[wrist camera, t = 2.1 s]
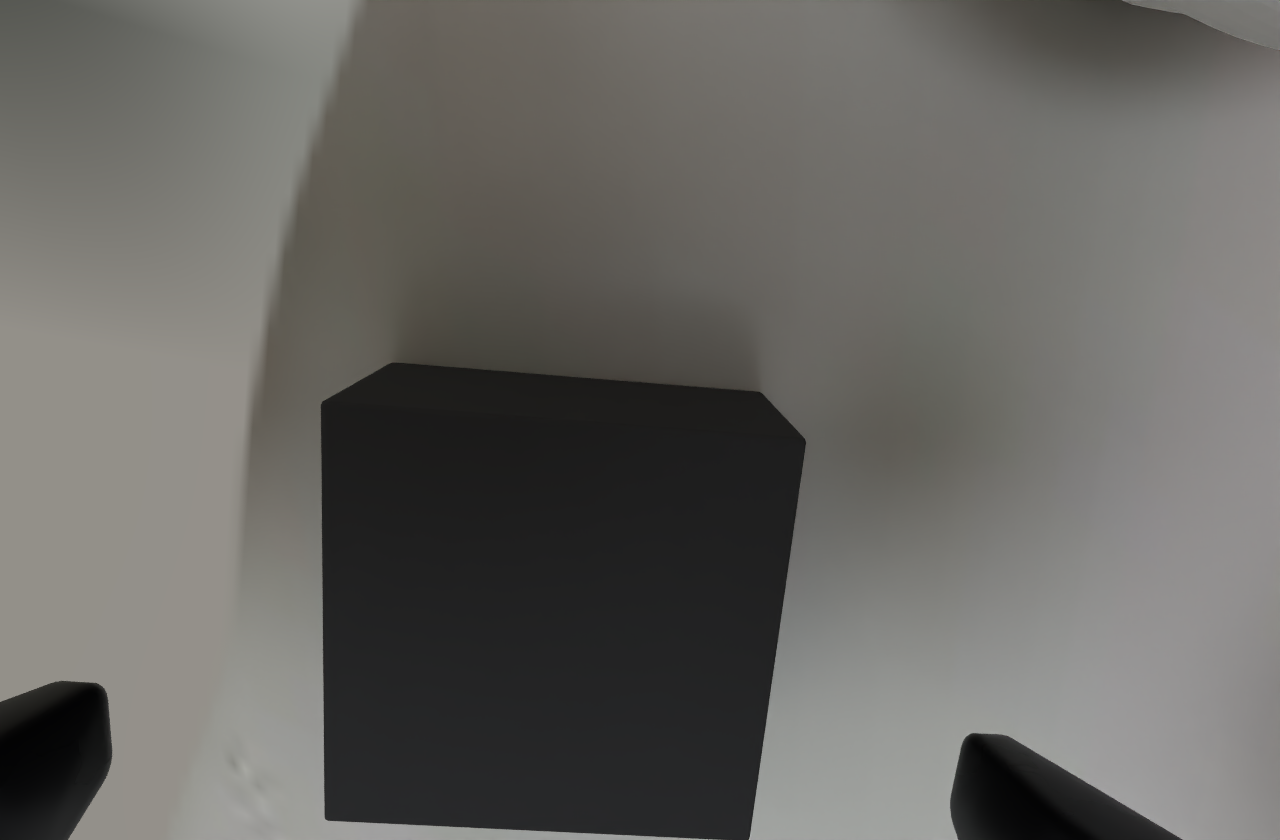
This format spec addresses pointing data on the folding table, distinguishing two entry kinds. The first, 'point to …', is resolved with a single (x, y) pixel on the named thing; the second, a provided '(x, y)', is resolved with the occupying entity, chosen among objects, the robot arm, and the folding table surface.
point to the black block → (551, 600)
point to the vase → (1229, 16)
